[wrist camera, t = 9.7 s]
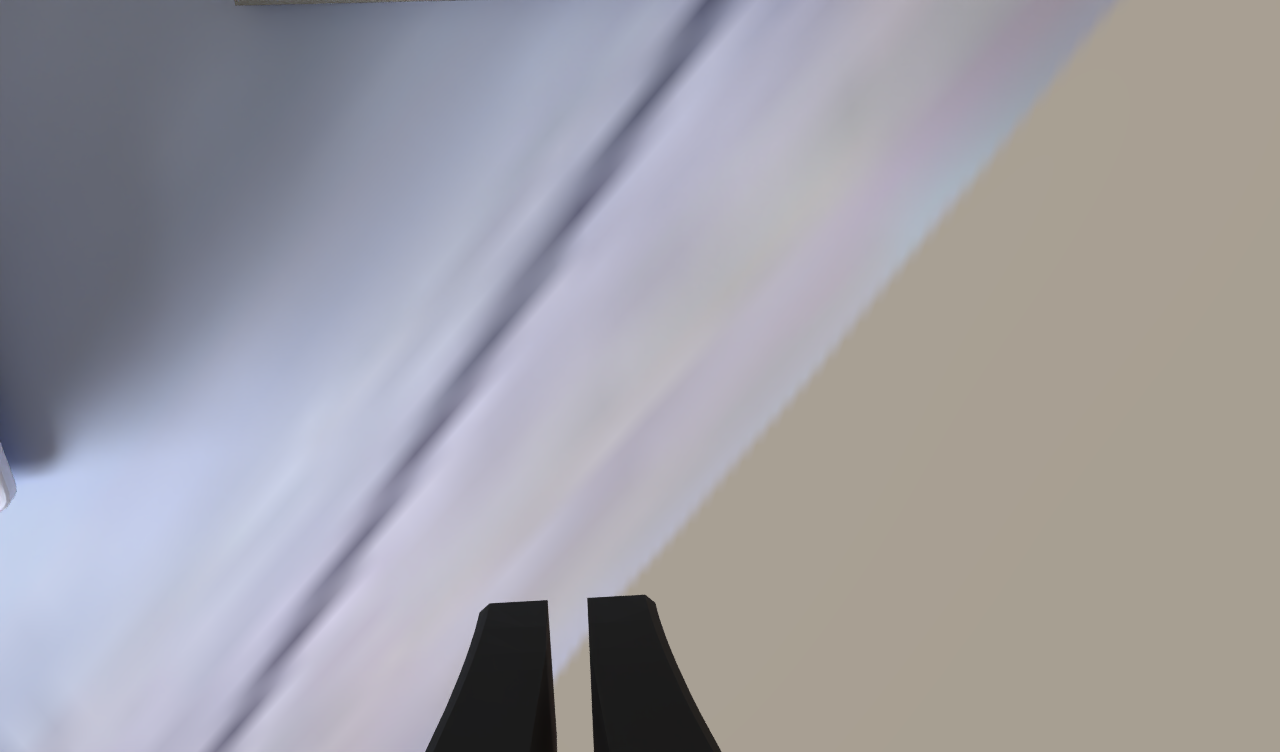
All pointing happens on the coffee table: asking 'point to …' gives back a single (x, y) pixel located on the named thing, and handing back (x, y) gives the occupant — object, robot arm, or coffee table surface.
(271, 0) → the mat
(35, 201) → the coffee table surface
